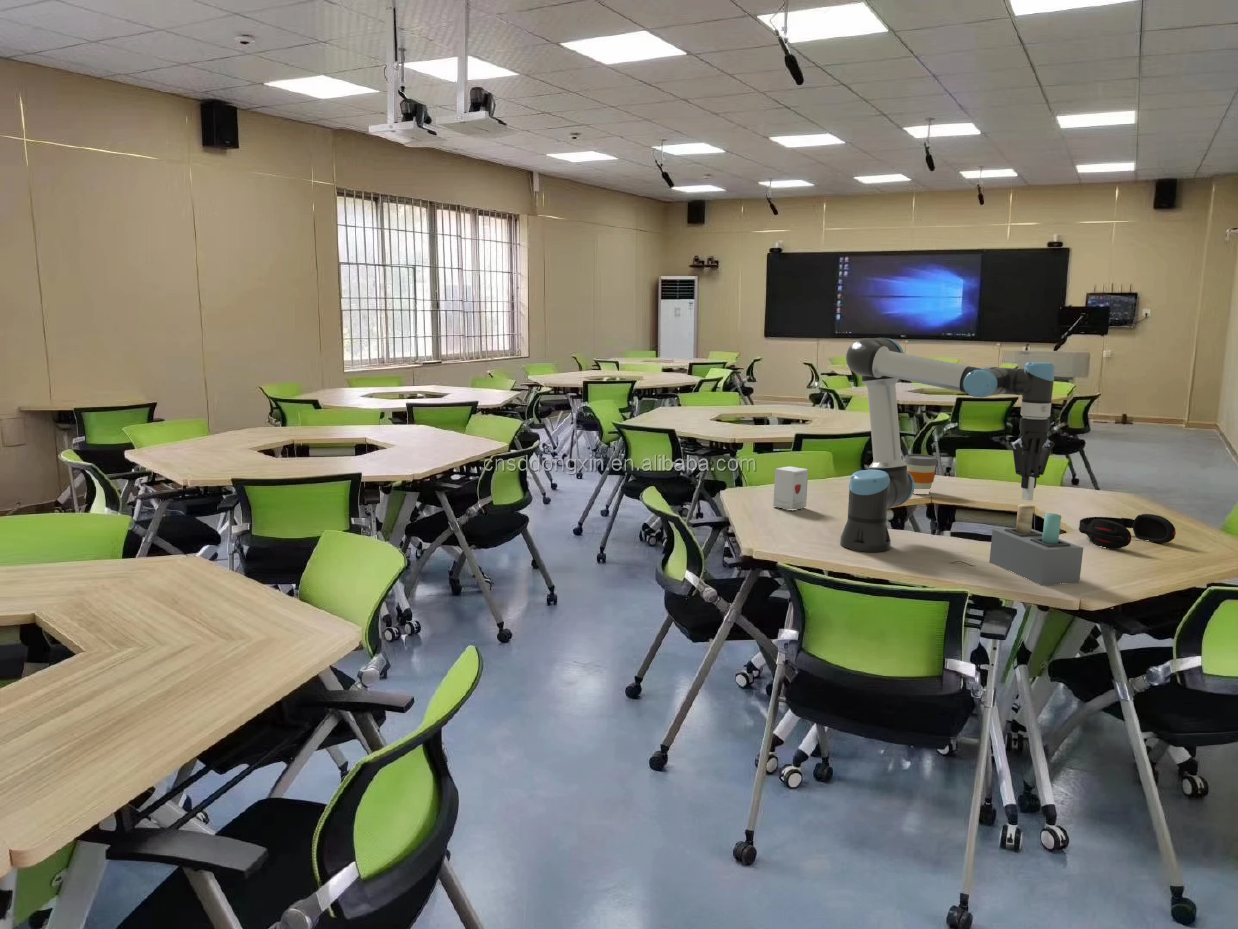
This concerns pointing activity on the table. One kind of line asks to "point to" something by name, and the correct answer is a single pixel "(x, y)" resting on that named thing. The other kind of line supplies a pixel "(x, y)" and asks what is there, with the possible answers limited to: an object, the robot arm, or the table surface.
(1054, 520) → the teal peg
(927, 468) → the reusable coffee cup
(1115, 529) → the headset
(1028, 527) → the beech peg
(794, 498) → the supplement box
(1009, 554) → the socket block
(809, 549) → the table surface
